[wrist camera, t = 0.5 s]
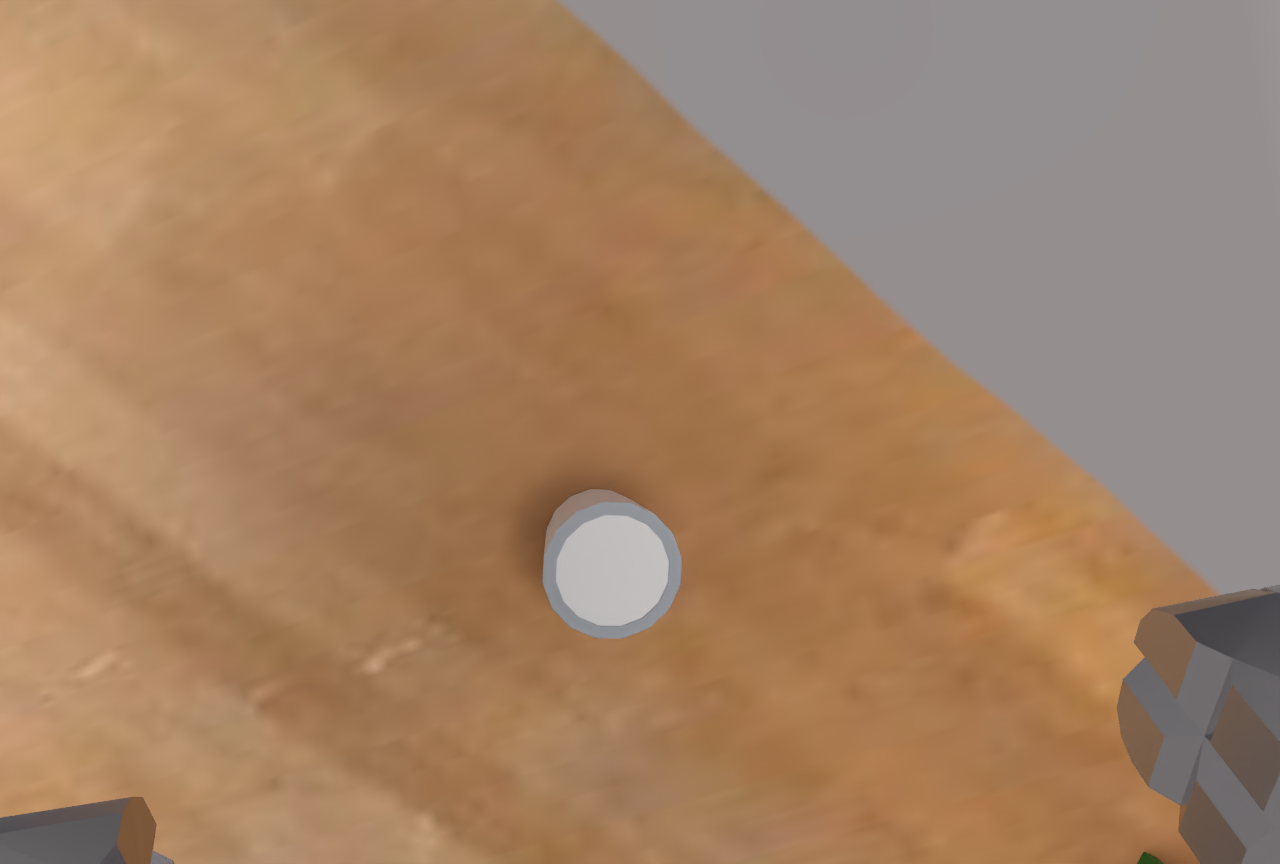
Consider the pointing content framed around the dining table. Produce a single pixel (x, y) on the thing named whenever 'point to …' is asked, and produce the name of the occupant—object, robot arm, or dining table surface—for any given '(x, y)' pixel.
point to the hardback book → (1148, 859)
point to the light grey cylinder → (609, 565)
